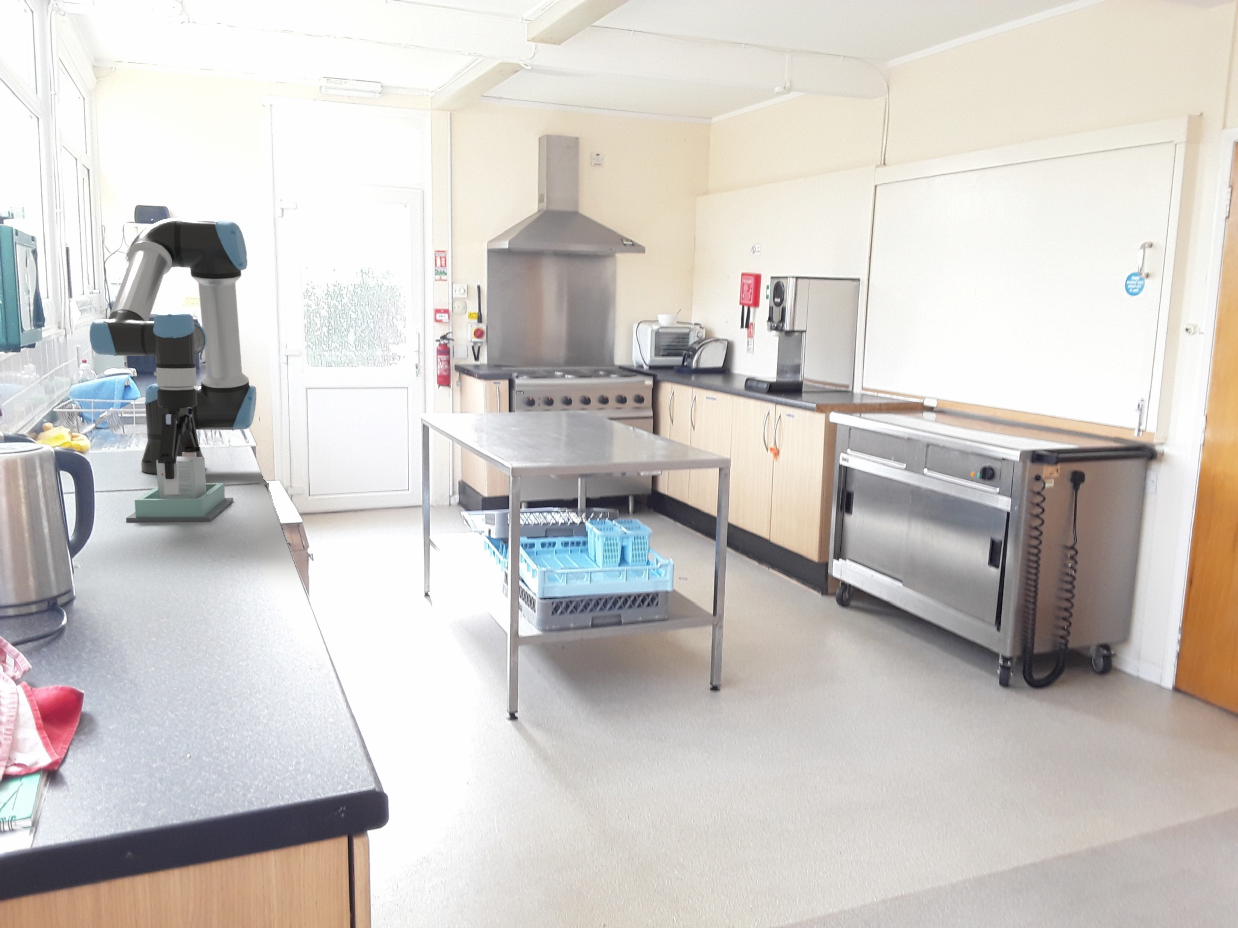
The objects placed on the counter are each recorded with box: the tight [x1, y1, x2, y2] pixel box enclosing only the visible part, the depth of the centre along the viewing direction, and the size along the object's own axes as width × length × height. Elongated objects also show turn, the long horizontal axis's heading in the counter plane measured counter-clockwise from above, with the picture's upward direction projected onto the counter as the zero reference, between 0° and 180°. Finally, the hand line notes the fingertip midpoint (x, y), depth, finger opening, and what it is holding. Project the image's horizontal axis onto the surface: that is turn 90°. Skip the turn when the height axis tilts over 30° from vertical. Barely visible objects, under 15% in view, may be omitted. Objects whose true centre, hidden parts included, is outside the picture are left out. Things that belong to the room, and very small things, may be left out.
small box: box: [156, 456, 207, 499], centre depth 201 cm, size 8×6×10 cm
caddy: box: [125, 482, 234, 523], centre depth 201 cm, size 20×16×4 cm
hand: (181, 487), depth 201 cm, fingers open, 13 cm apart
